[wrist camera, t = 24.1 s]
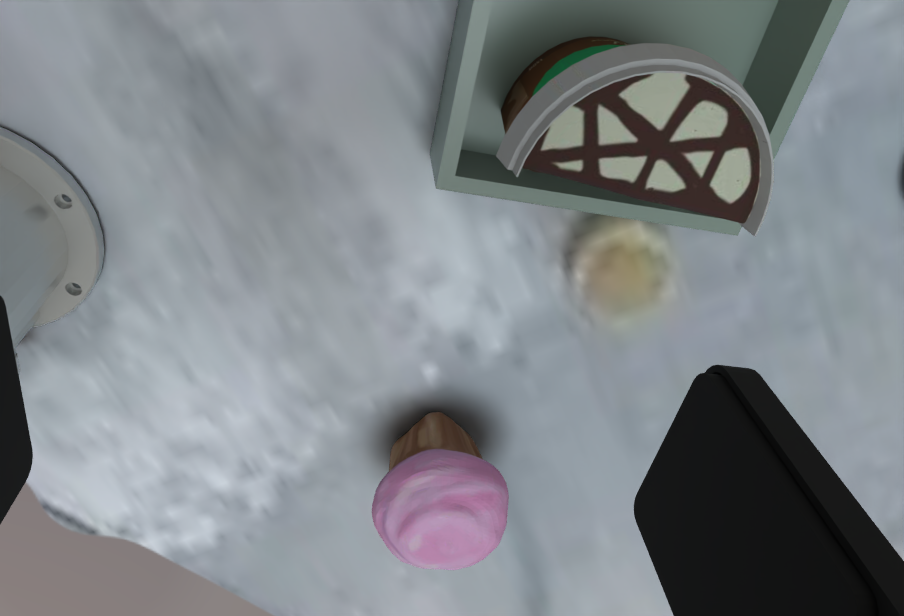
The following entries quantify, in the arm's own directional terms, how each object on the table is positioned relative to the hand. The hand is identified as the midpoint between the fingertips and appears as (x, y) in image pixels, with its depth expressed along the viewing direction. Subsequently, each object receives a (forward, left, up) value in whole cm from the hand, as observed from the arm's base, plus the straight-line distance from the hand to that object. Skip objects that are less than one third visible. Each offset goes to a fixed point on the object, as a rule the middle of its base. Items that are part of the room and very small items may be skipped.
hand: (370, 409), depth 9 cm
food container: (0, -12, -28) cm, 30 cm away
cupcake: (-27, -8, -28) cm, 40 cm away
